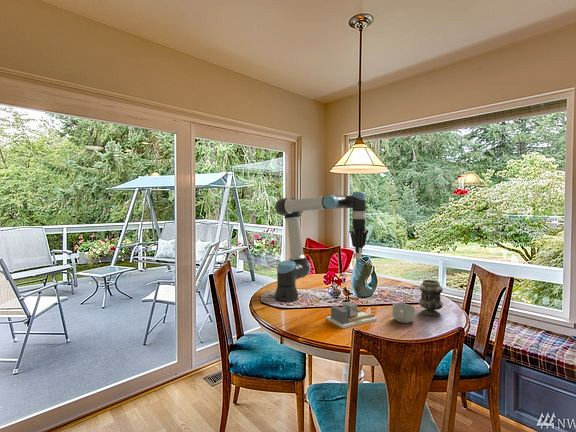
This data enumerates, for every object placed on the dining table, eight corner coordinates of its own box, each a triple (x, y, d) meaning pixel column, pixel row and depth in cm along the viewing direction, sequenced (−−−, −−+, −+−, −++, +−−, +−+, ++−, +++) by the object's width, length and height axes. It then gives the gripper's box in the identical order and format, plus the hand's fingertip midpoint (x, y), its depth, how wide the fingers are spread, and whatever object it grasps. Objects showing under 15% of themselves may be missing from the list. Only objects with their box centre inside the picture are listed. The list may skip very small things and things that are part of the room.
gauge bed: (326, 318, 162) (326, 305, 161) (358, 311, 172) (358, 299, 172) (343, 328, 149) (343, 313, 149) (376, 320, 160) (376, 306, 160)
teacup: (396, 315, 166) (397, 301, 166) (417, 320, 159) (417, 305, 159) (386, 323, 156) (387, 307, 155) (408, 329, 149) (409, 312, 148)
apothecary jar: (440, 310, 173) (440, 279, 173) (444, 318, 162) (445, 284, 161) (417, 308, 177) (417, 277, 176) (420, 316, 165) (420, 283, 164)
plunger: (342, 316, 162) (342, 302, 161) (350, 314, 164) (350, 301, 164) (355, 322, 153) (355, 308, 152) (363, 320, 155) (363, 307, 155)
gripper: (354, 219, 173) (354, 260, 174) (371, 218, 179) (371, 258, 180) (346, 218, 179) (345, 258, 180) (363, 217, 185) (362, 256, 186)
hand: (358, 258), depth 180 cm, fingers closed
